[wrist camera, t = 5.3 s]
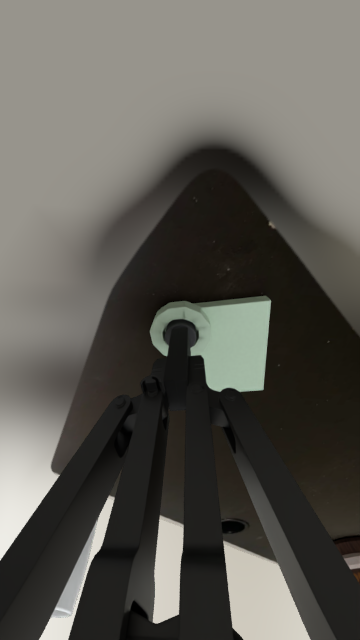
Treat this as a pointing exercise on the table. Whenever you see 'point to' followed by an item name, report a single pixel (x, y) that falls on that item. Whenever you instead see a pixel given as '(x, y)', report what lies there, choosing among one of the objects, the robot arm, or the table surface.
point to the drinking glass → (74, 582)
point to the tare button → (181, 324)
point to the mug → (350, 553)
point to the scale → (223, 339)
